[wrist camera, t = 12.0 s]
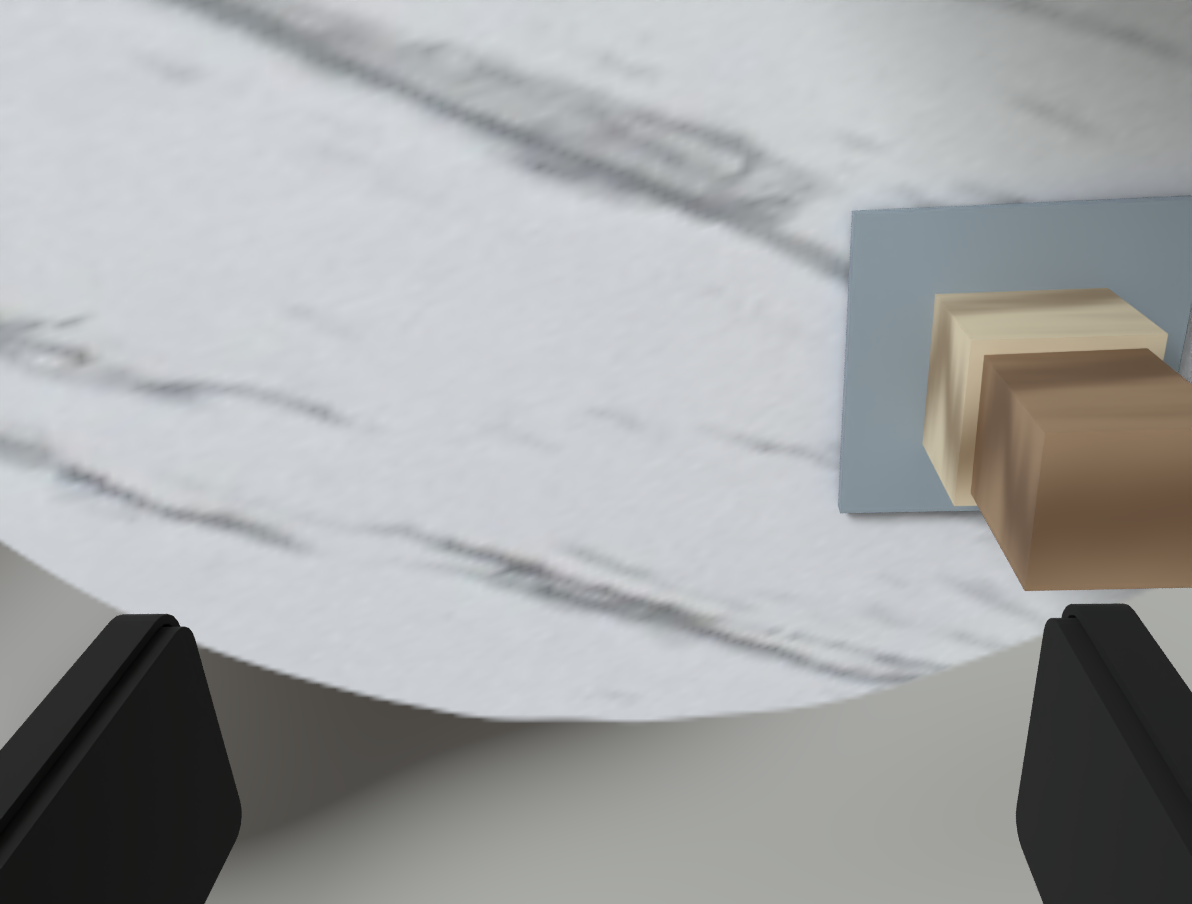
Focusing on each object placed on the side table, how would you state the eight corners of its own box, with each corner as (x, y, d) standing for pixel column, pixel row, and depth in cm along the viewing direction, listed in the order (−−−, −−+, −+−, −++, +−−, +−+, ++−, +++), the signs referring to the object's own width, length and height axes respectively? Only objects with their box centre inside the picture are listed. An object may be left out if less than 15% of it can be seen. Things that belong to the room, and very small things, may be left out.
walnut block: (983, 355, 33) (1045, 433, 27) (1147, 348, 32) (1242, 426, 27) (970, 493, 35) (1024, 590, 29) (1123, 488, 34) (1207, 587, 29)
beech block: (935, 293, 37) (971, 340, 33) (1107, 287, 37) (1168, 334, 32) (922, 443, 40) (953, 506, 35) (1083, 440, 39) (1136, 502, 35)
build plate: (851, 210, 37) (854, 214, 36) (1204, 195, 35) (1212, 199, 35) (837, 505, 42) (840, 513, 41) (1145, 500, 41) (1151, 507, 40)
